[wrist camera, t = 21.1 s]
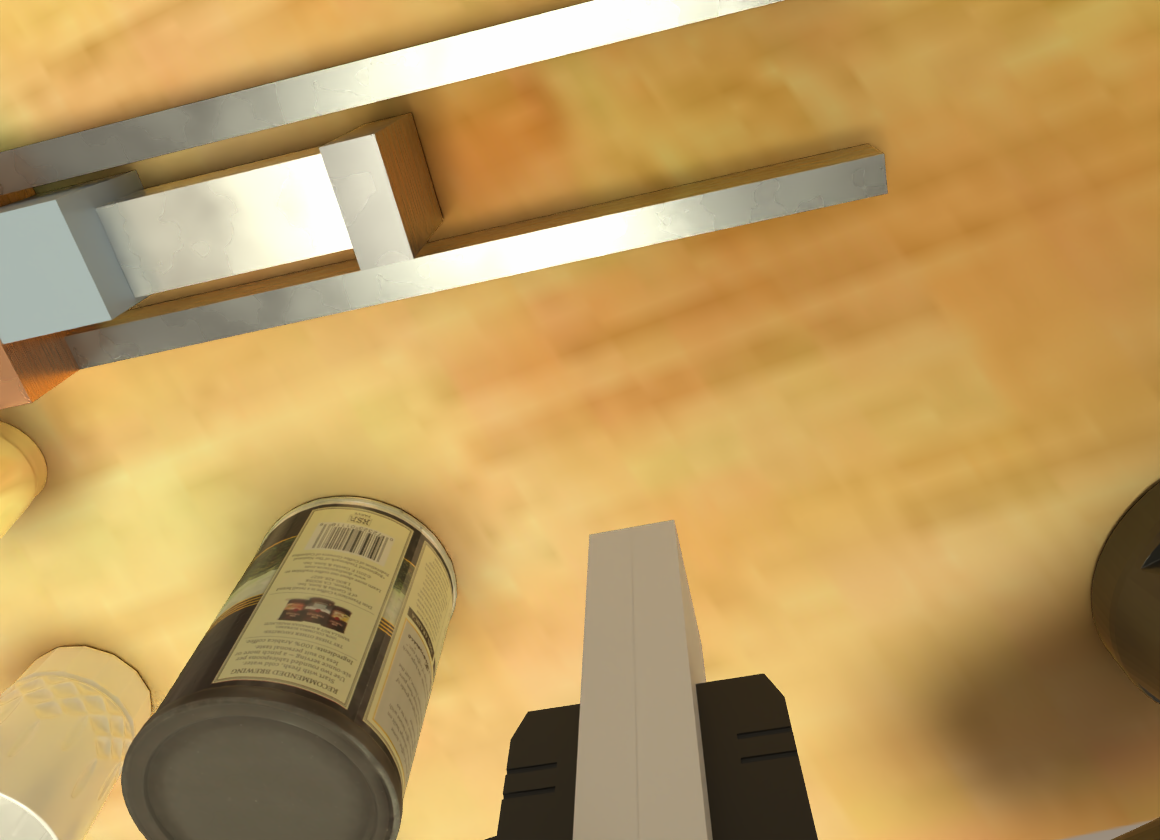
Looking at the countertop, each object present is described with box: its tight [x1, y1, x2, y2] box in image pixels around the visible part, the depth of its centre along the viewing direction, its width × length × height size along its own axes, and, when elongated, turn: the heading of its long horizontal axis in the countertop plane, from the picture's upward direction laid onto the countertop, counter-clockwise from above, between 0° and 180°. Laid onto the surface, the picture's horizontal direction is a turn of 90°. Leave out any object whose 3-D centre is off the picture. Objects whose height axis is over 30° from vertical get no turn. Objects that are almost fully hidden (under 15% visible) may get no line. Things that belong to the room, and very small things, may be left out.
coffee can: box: [121, 497, 457, 840], centre depth 40 cm, size 10×10×14 cm
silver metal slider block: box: [95, 113, 443, 298], centre depth 35 cm, size 12×4×6 cm, turn 103°
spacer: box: [0, 170, 151, 344], centre depth 36 cm, size 5×5×6 cm
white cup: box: [0, 646, 152, 840], centre depth 45 cm, size 8×8×10 cm
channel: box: [0, 0, 888, 409], centre depth 35 cm, size 38×9×6 cm, turn 103°
